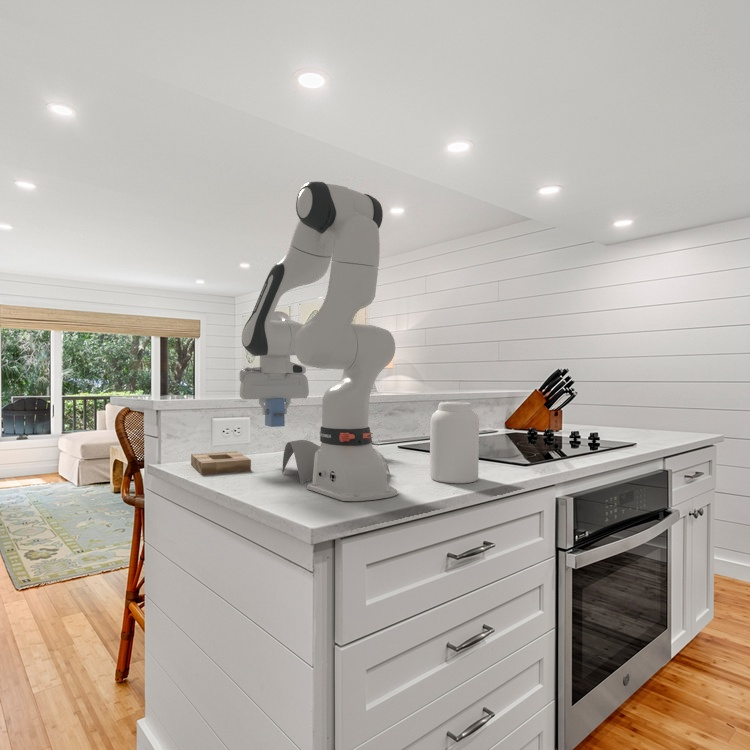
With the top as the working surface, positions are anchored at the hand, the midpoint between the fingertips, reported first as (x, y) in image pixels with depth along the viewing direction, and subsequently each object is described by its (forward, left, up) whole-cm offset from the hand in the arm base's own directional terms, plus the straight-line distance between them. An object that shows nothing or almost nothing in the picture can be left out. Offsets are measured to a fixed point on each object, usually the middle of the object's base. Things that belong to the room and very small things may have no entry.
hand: (274, 414), depth 152 cm
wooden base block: (0, +16, -15) cm, 21 cm away
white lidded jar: (-41, -35, -15) cm, 56 cm away
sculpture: (-21, -10, -15) cm, 28 cm away
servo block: (0, 0, -3) cm, 3 cm away
